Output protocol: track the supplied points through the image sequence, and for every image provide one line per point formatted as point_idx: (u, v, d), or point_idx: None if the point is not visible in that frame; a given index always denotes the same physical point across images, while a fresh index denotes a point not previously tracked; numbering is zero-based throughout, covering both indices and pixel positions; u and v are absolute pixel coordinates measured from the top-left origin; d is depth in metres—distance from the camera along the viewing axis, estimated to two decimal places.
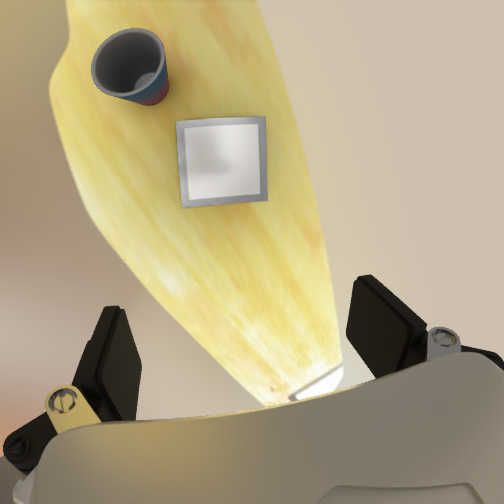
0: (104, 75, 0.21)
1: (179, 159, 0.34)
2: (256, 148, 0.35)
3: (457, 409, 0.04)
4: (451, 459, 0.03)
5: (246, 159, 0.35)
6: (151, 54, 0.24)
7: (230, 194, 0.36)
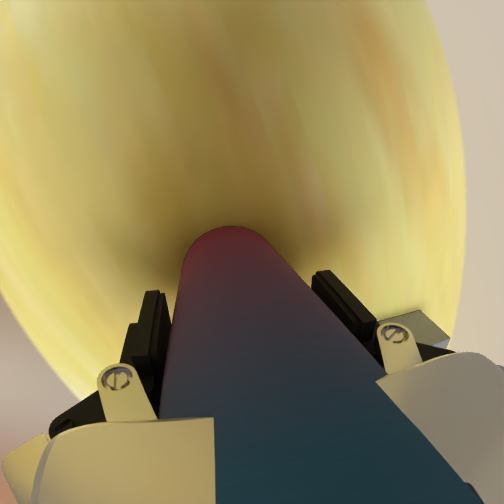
0: None
1: None
2: None
3: (457, 409, 0.04)
4: (451, 459, 0.03)
5: None
6: None
7: None
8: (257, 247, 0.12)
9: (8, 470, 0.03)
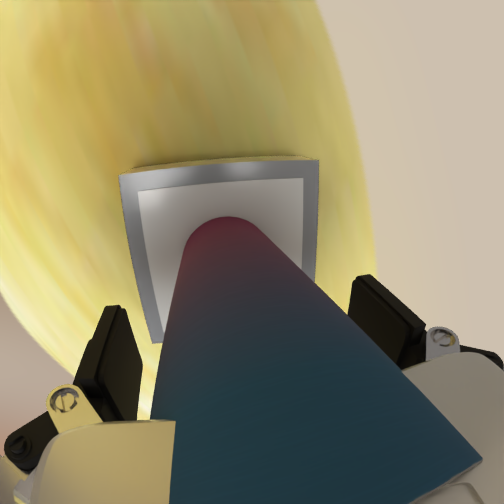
0: None
1: (134, 258, 0.16)
2: (298, 230, 0.17)
3: (457, 409, 0.04)
4: None
5: None
6: None
7: None
8: (250, 232, 0.13)
9: None
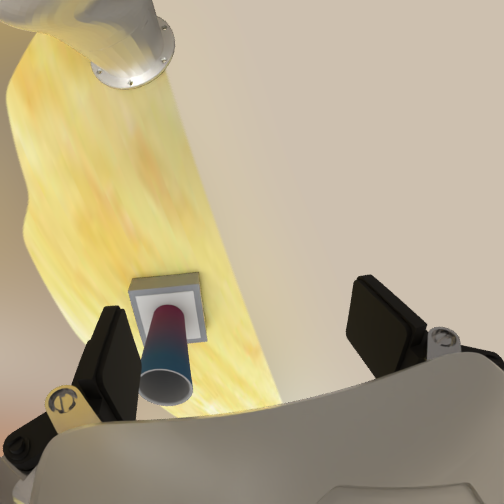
0: (143, 376, 0.32)
1: (136, 317, 0.43)
2: (194, 307, 0.44)
3: (457, 409, 0.04)
4: (451, 459, 0.03)
5: (187, 315, 0.44)
6: None
7: None
8: (169, 316, 0.40)
9: None
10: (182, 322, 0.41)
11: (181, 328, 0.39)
